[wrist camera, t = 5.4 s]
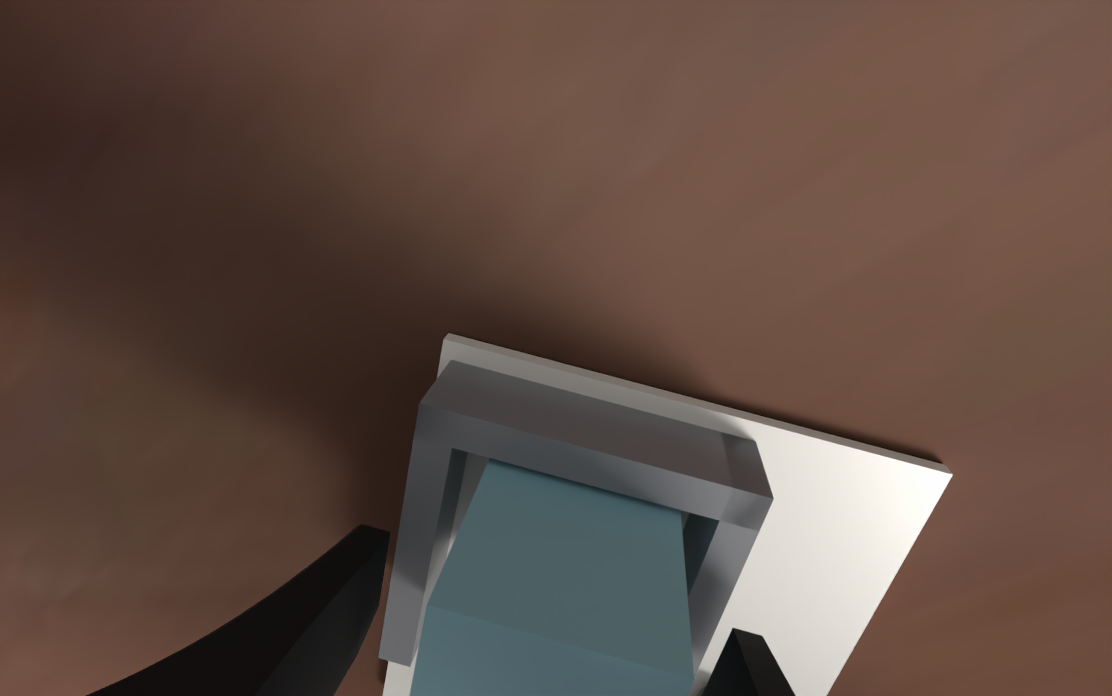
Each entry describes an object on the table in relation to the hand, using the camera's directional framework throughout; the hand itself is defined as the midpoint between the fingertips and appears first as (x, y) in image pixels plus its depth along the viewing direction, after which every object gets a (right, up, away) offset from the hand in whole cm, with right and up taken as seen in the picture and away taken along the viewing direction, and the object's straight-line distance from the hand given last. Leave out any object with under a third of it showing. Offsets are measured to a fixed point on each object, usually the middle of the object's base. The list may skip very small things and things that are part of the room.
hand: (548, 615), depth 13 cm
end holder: (0, +1, +3) cm, 3 cm away
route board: (+2, -1, +4) cm, 4 cm away
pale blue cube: (+1, +2, +3) cm, 3 cm away
